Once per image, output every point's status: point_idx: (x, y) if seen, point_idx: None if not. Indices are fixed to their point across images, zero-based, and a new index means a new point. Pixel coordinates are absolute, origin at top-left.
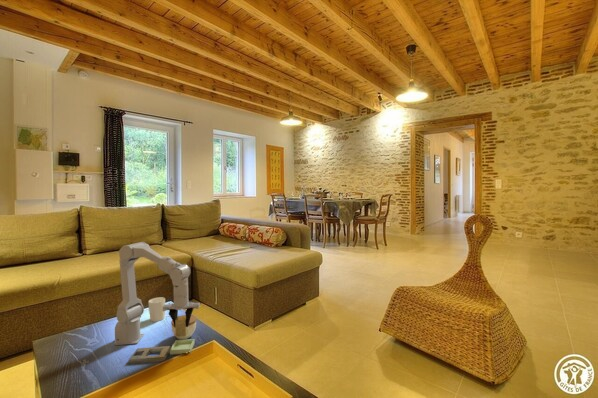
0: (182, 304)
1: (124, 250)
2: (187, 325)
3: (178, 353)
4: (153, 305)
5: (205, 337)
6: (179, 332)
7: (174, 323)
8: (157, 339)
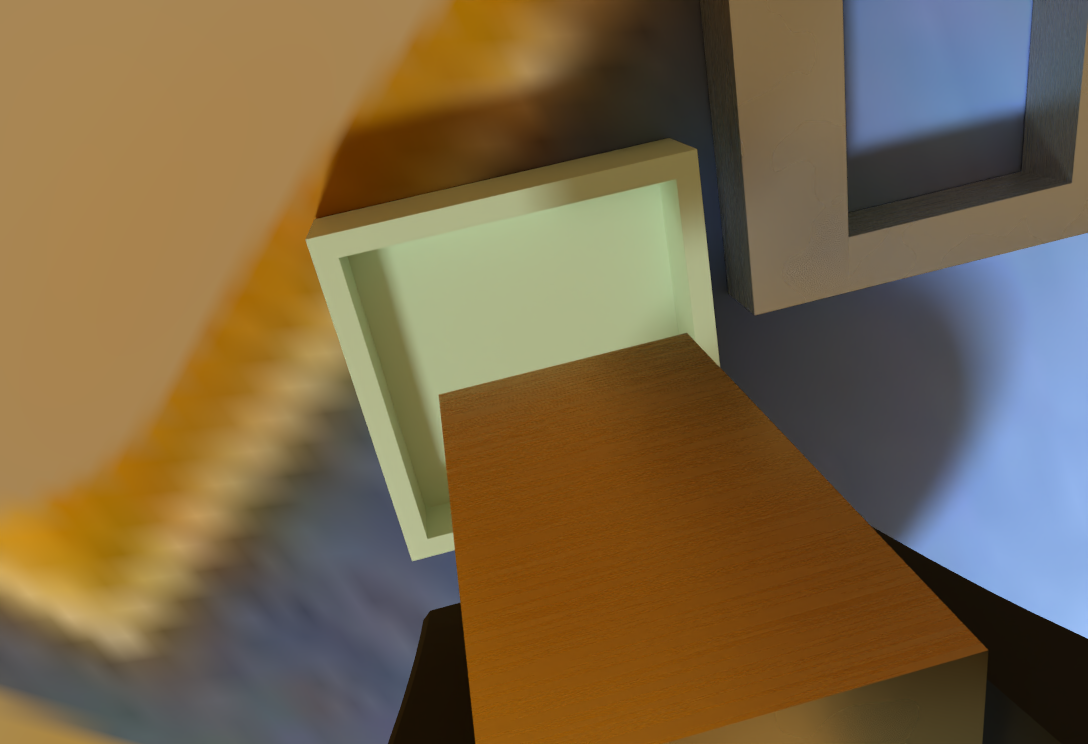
0: None
1: None
2: (433, 634)
3: (522, 171)
4: None
5: (318, 676)
6: (623, 405)
7: (924, 571)
8: (1018, 524)
